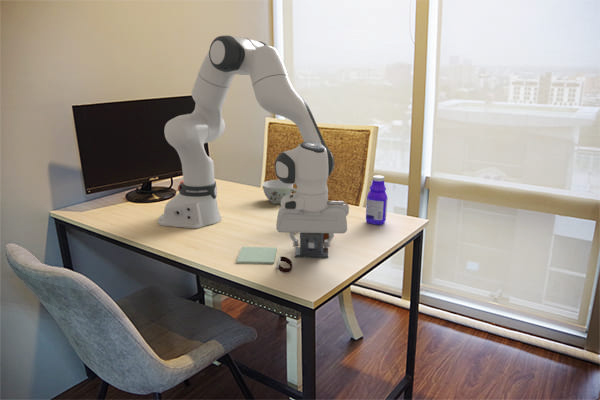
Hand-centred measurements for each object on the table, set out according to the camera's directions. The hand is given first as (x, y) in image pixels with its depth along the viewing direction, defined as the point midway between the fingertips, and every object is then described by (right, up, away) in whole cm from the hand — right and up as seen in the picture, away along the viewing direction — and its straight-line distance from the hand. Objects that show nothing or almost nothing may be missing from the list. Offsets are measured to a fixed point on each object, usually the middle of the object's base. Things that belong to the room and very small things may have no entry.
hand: (311, 246), depth 139 cm
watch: (-8, -7, -1) cm, 10 cm away
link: (0, -2, +1) cm, 2 cm away
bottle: (+24, +5, +36) cm, 44 cm away
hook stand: (0, -4, +5) cm, 6 cm away
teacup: (-11, +12, +59) cm, 61 cm away
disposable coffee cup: (+4, 0, +19) cm, 20 cm away
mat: (-16, -4, +7) cm, 18 cm away
